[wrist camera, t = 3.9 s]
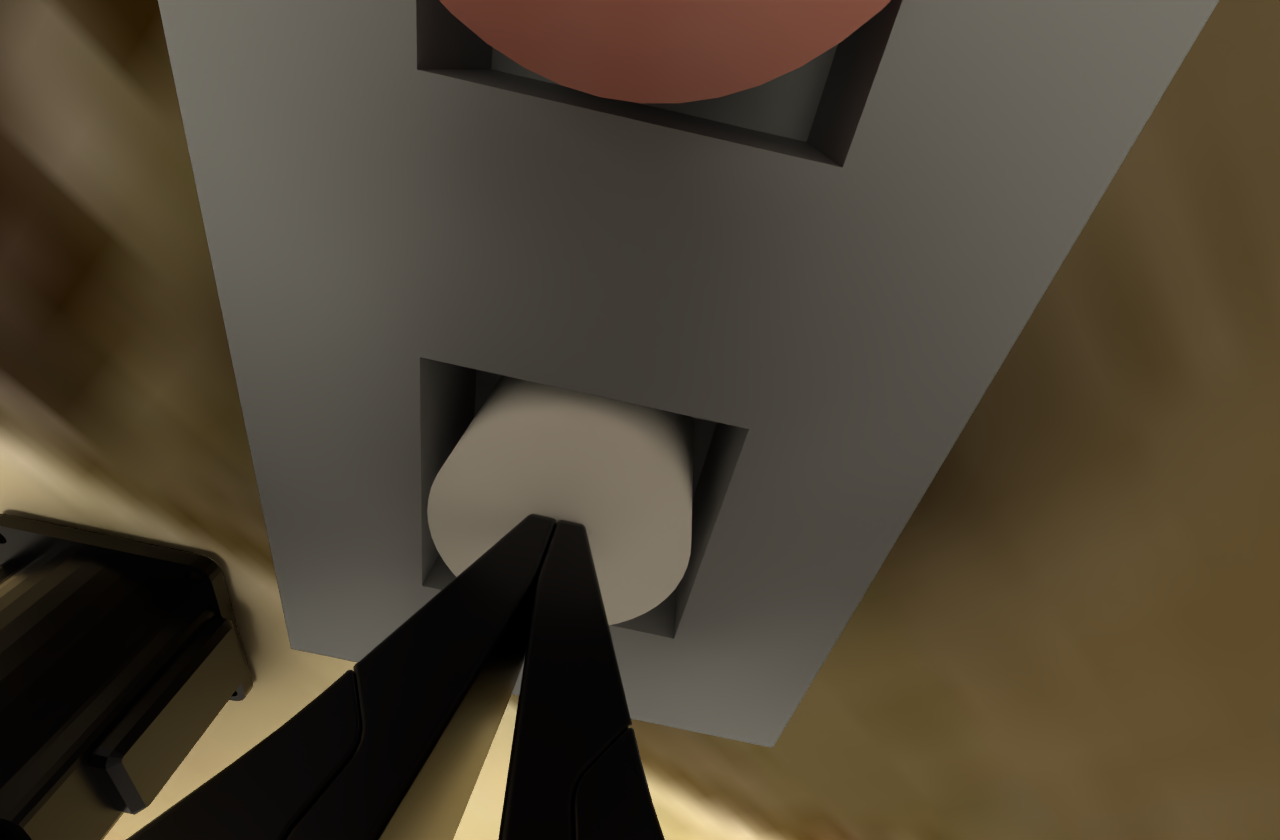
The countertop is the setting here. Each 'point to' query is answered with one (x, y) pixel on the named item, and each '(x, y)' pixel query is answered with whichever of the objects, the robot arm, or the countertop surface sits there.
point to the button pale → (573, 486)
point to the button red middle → (663, 41)
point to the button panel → (642, 289)
